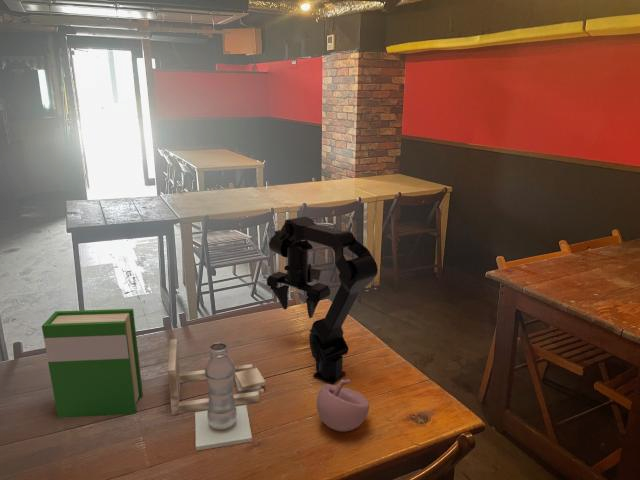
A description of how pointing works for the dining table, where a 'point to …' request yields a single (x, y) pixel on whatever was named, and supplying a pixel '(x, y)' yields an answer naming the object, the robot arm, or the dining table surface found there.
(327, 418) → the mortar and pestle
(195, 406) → the birch rack
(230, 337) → the dining table surface
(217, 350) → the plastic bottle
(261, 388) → the offcut stack
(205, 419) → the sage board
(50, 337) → the hardback book
